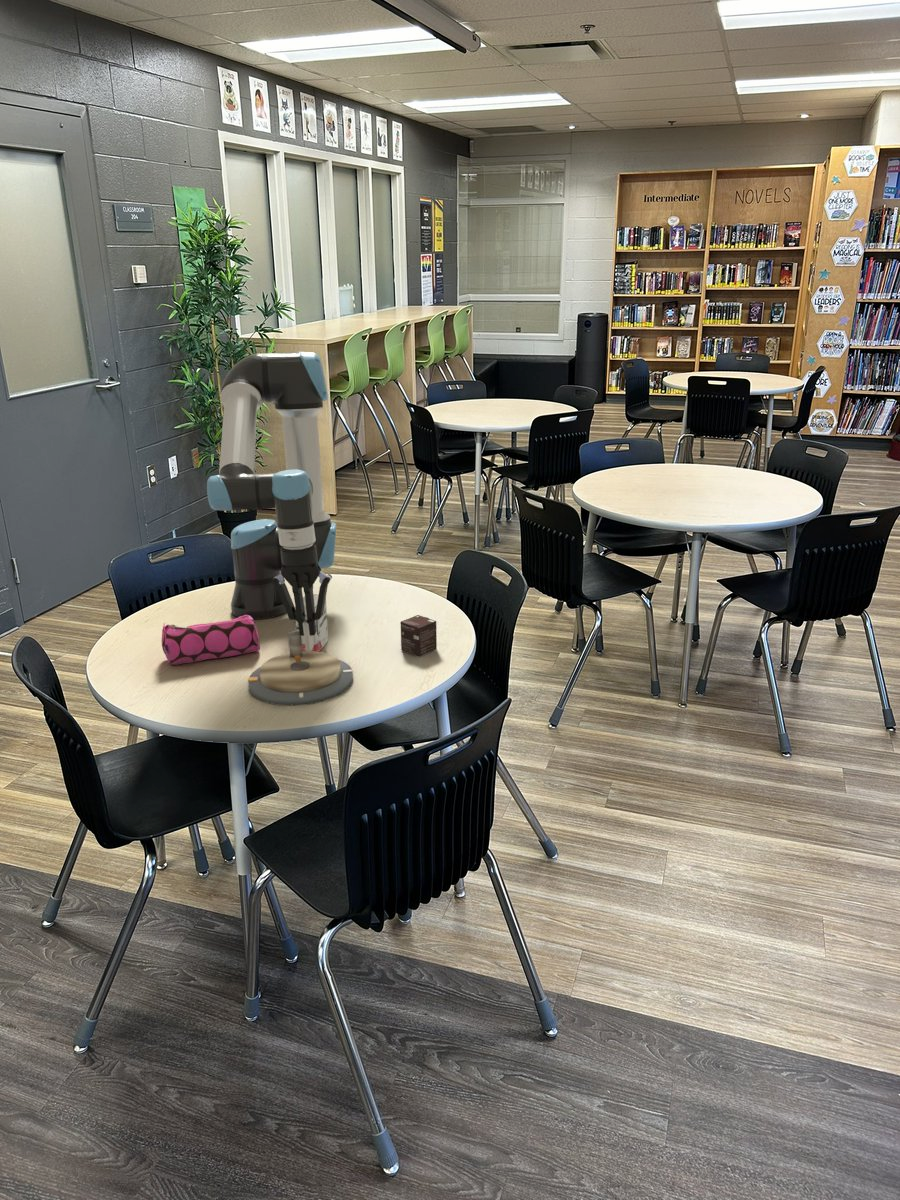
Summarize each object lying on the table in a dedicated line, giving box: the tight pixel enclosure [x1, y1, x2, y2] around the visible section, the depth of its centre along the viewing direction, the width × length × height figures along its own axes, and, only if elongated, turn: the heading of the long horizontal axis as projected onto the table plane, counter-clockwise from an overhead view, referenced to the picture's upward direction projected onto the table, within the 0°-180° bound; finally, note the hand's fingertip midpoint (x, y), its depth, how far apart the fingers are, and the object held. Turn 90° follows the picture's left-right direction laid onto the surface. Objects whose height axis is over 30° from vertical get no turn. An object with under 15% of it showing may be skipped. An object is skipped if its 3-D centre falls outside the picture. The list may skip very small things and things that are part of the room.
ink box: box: [295, 593, 329, 652], centre depth 206 cm, size 9×5×12 cm, turn 168°
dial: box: [259, 630, 341, 693], centre depth 188 cm, size 17×17×7 cm
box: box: [400, 614, 438, 658], centre depth 204 cm, size 6×6×7 cm
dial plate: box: [247, 658, 354, 706], centre depth 190 cm, size 22×22×2 cm
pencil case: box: [161, 615, 261, 666], centre depth 202 cm, size 21×10×10 cm, turn 113°
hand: (309, 648), depth 195 cm, fingers closed
